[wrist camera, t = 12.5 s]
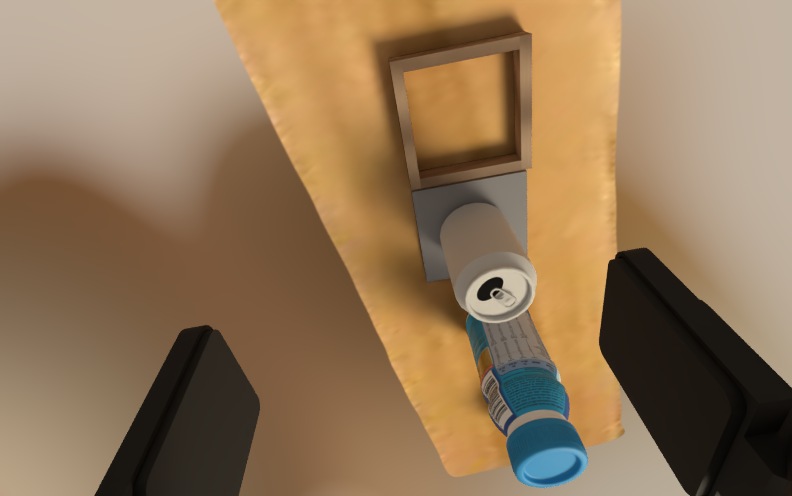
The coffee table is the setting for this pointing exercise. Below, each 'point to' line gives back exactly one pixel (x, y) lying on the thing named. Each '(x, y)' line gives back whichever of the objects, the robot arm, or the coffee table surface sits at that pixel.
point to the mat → (444, 199)
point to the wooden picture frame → (522, 106)
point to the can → (487, 263)
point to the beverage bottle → (527, 401)
